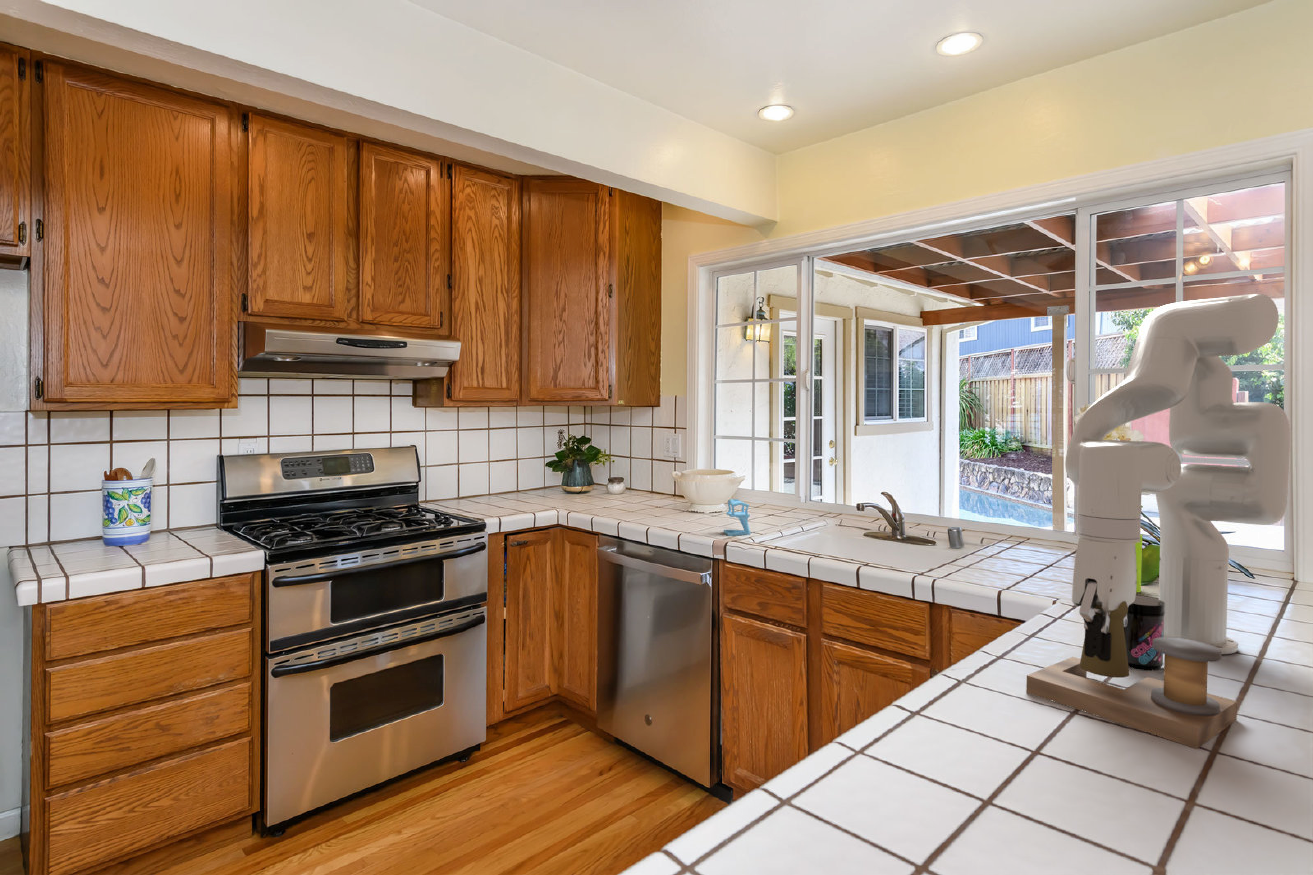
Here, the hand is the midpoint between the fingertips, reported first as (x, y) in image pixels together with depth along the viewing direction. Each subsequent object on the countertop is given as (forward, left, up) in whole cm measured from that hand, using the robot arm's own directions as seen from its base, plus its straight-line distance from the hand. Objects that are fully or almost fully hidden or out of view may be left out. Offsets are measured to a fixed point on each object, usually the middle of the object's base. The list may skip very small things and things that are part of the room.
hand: (1105, 653), depth 98 cm
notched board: (+3, +4, -5) cm, 7 cm away
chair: (-46, -131, -6) cm, 139 cm away
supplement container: (-17, -2, -6) cm, 18 cm away
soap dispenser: (-72, -24, -6) cm, 76 cm away
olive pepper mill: (0, 0, -2) cm, 3 cm away
